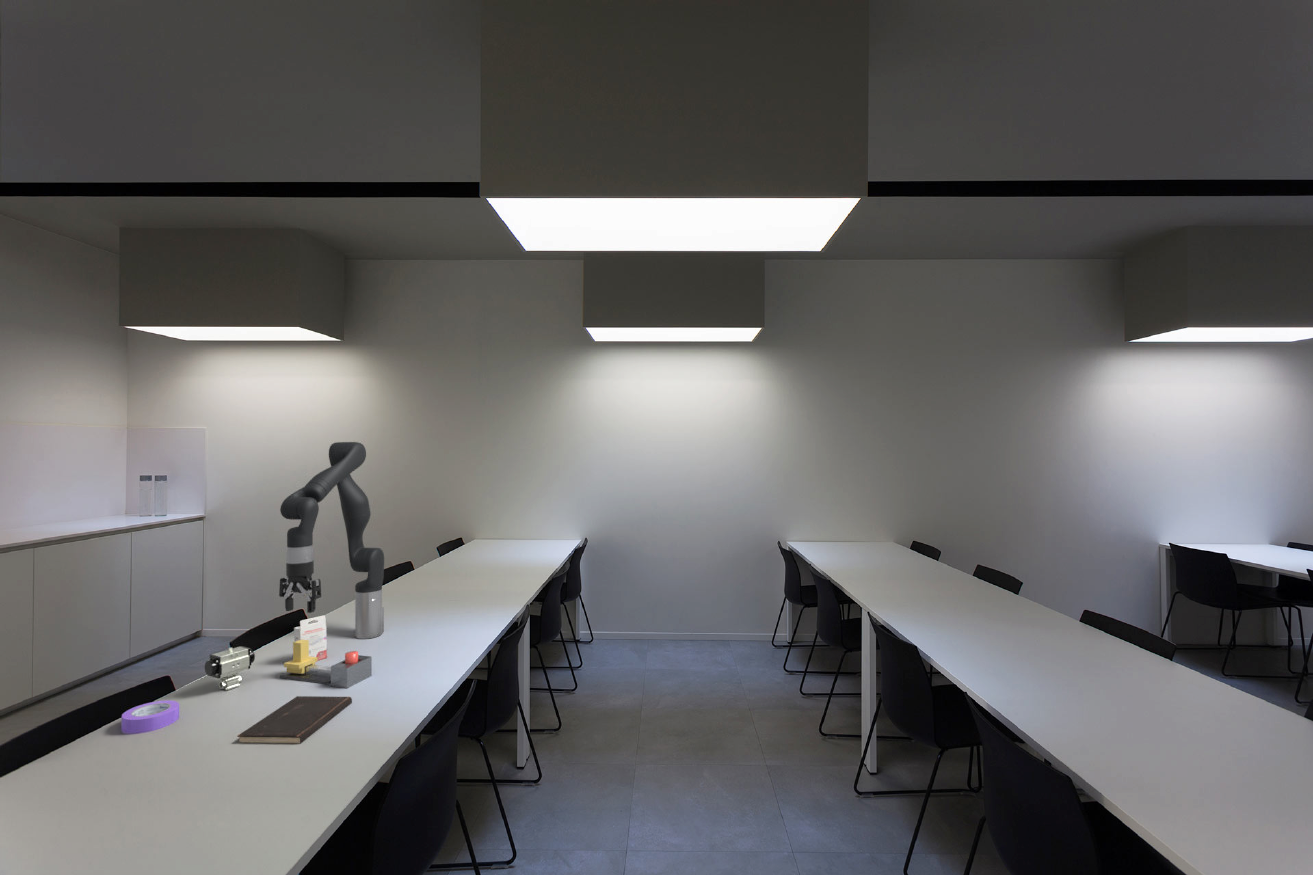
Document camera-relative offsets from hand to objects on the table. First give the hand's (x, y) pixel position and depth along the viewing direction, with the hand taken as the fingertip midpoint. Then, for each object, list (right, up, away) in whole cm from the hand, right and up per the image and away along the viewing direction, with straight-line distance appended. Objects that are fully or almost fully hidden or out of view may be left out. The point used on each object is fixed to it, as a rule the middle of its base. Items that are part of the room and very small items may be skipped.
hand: (300, 611), depth 192 cm
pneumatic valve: (-15, -20, -10) cm, 27 cm away
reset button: (+19, -16, -5) cm, 26 cm away
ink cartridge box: (-4, -20, +13) cm, 24 cm away
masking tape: (-20, -20, -33) cm, 44 cm away
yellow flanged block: (0, -19, 0) cm, 19 cm away
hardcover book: (+19, -21, -32) cm, 43 cm away
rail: (+6, -20, -2) cm, 21 cm away
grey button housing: (+19, -20, -5) cm, 28 cm away
